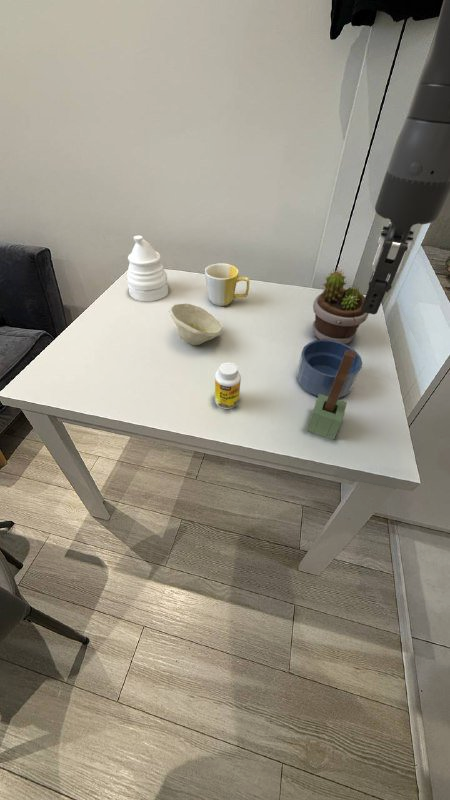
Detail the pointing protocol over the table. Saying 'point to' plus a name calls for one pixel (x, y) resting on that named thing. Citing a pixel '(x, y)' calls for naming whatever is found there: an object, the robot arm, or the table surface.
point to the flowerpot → (338, 310)
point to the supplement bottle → (227, 385)
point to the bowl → (195, 323)
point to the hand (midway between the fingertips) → (372, 298)
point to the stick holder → (326, 418)
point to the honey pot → (146, 272)
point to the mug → (223, 283)
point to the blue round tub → (325, 367)
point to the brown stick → (339, 380)
